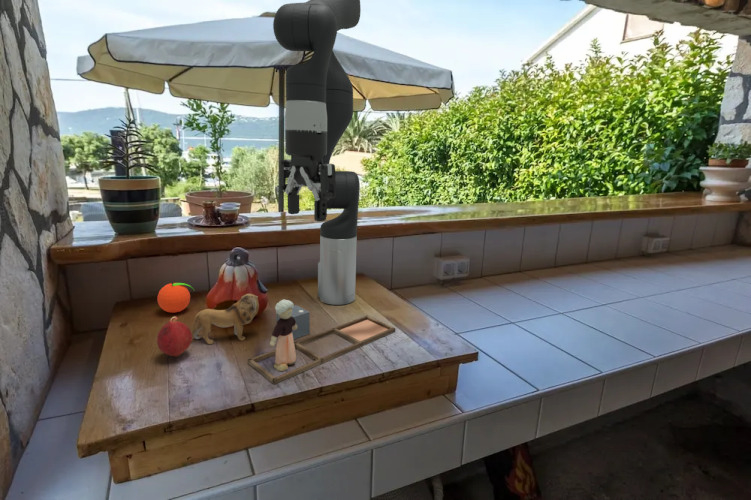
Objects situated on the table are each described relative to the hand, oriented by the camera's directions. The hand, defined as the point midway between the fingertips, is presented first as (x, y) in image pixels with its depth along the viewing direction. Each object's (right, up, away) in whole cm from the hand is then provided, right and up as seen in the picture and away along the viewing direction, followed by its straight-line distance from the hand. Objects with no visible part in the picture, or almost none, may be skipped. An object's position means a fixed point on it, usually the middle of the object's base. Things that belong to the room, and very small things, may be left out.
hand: (306, 217), depth 78 cm
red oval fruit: (-24, -27, -1) cm, 36 cm away
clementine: (-34, -21, +19) cm, 44 cm away
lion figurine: (-18, -25, +7) cm, 31 cm away
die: (-5, -24, +10) cm, 27 cm away
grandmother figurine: (-4, -28, -2) cm, 28 cm away
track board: (+4, -26, +5) cm, 27 cm away
